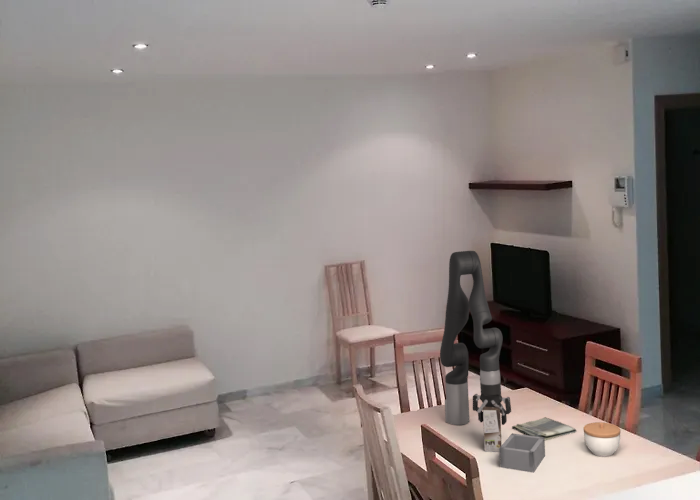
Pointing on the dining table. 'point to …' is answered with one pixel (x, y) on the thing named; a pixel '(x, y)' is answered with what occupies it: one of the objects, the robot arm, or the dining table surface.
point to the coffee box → (492, 428)
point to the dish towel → (544, 428)
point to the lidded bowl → (602, 438)
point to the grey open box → (522, 452)
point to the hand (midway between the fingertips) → (492, 423)
